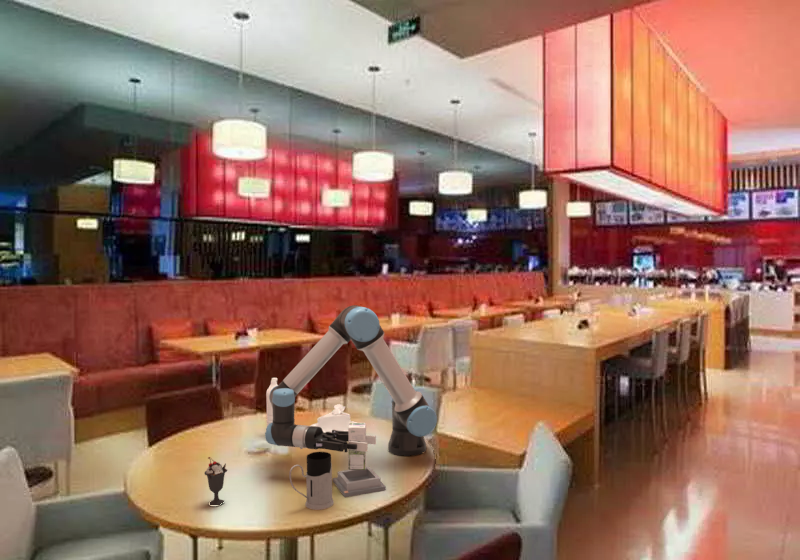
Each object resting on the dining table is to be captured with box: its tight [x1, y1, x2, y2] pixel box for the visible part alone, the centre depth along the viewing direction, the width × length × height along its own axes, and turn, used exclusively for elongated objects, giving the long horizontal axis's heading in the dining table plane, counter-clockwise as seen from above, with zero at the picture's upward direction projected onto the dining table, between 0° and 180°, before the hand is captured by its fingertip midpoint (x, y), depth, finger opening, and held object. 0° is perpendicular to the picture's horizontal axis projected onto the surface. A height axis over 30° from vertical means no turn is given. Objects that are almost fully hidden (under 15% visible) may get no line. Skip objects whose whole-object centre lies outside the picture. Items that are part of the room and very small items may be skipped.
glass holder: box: [288, 451, 335, 511], centre depth 172 cm, size 9×14×15 cm, turn 125°
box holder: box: [332, 466, 387, 498], centre depth 187 cm, size 14×14×4 cm
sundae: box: [204, 456, 228, 506], centre depth 174 cm, size 7×7×15 cm
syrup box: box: [347, 422, 367, 470], centre depth 186 cm, size 6×6×14 cm
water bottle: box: [265, 377, 279, 427], centre depth 240 cm, size 9×6×25 cm
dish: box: [309, 403, 358, 439], centre depth 250 cm, size 25×25×11 cm
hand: (371, 443), depth 185 cm, fingers closed on syrup box, 7 cm apart
